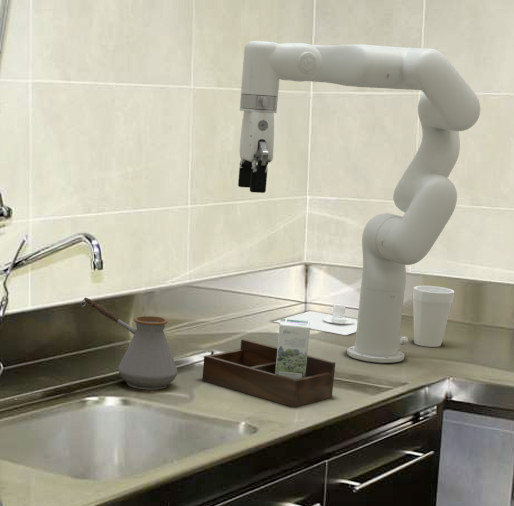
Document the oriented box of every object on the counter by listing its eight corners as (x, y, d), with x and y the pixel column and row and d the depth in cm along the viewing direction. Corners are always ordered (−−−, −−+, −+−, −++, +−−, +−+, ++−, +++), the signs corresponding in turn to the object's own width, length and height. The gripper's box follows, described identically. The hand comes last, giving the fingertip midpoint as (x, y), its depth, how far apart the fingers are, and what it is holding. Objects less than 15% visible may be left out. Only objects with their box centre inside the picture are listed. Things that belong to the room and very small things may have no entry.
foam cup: (453, 344, 290) (460, 290, 286) (439, 350, 282) (446, 295, 279) (416, 337, 294) (422, 284, 291) (401, 343, 287) (407, 288, 283)
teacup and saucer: (344, 327, 300) (345, 311, 299) (315, 322, 304) (316, 306, 303) (359, 322, 307) (360, 306, 306) (330, 317, 312) (332, 301, 310)
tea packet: (303, 392, 237) (310, 319, 233) (303, 400, 231) (310, 325, 228) (273, 390, 238) (280, 317, 234) (273, 397, 232) (279, 323, 228)
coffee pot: (187, 384, 238) (192, 308, 234) (158, 396, 228) (162, 317, 224) (94, 365, 247) (98, 293, 243) (63, 376, 238) (66, 300, 234)
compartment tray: (241, 372, 250) (244, 338, 248) (332, 397, 235) (335, 362, 233) (202, 380, 241) (204, 346, 240) (293, 407, 226) (296, 370, 224)
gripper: (288, 107, 239) (280, 195, 244) (265, 103, 256) (258, 186, 260) (251, 105, 238) (244, 193, 242) (230, 101, 254) (224, 184, 259)
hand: (251, 189), depth 251 cm, fingers open, 9 cm apart
